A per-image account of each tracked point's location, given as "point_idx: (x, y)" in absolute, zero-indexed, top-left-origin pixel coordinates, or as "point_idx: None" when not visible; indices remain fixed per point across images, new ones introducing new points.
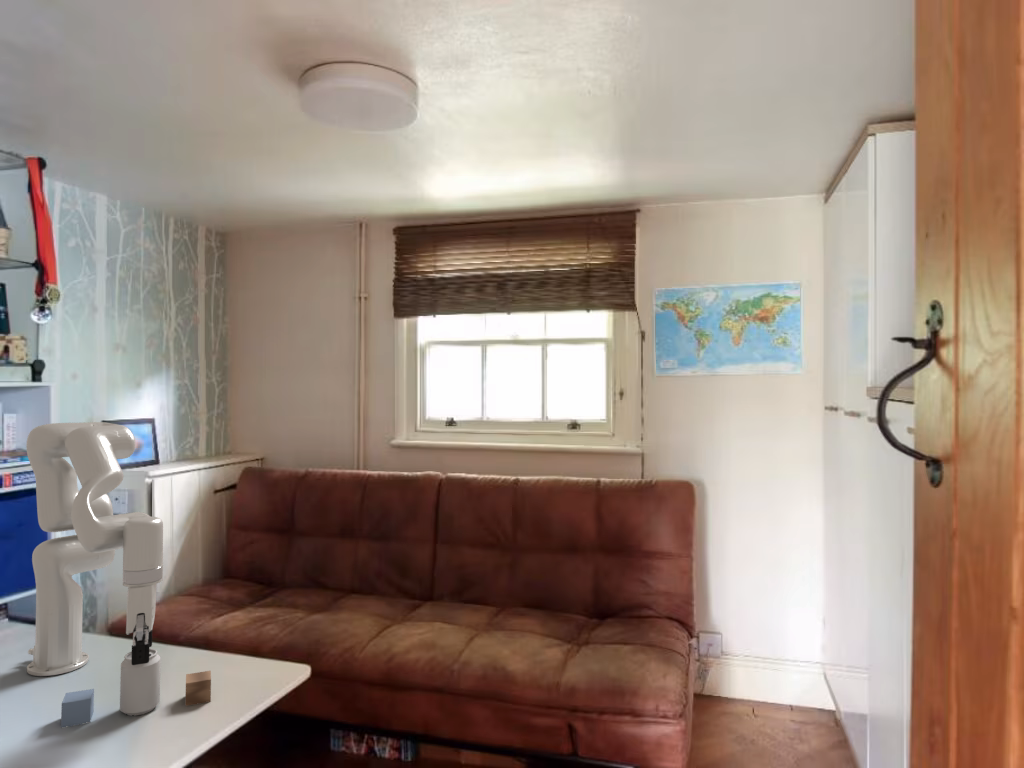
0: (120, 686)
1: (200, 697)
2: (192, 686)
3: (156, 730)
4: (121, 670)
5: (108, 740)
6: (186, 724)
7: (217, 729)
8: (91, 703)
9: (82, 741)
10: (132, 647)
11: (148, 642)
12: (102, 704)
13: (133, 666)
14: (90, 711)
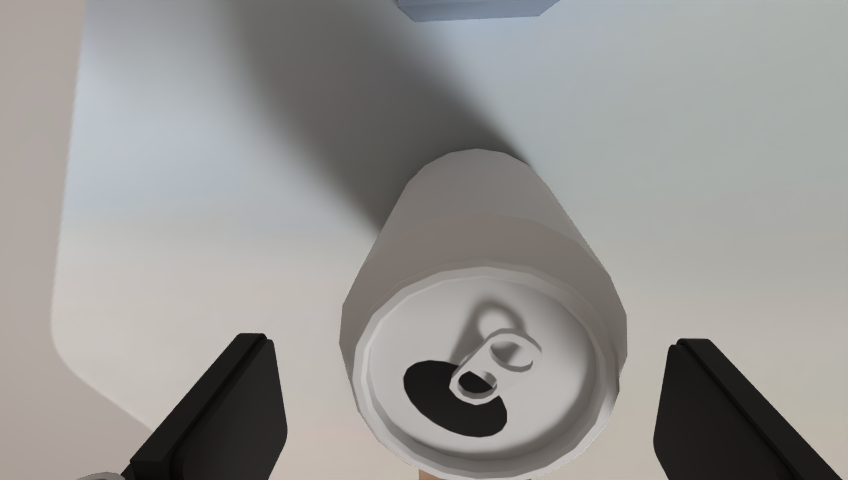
0: (470, 172)
1: None
2: None
3: (254, 292)
4: (431, 210)
5: (215, 131)
6: None
7: None
8: (448, 10)
9: (231, 22)
10: (143, 452)
11: (671, 462)
12: (612, 48)
13: (350, 313)
14: (413, 15)
